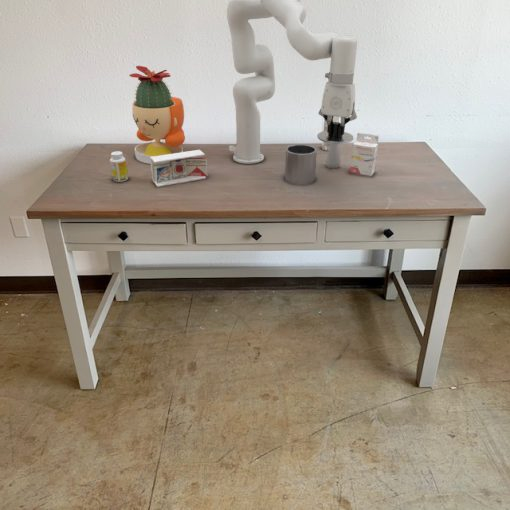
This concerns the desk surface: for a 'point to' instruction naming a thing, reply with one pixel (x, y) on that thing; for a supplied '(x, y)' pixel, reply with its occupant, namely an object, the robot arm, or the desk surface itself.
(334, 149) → the salt shaker
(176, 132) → the potted cactus
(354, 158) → the ink cartridge box
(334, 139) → the canister lid
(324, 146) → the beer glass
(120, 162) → the supplement bottle
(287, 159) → the canister
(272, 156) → the desk surface
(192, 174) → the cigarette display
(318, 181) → the desk surface
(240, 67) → the robot arm
